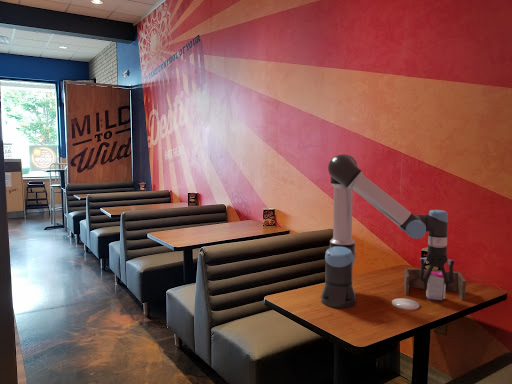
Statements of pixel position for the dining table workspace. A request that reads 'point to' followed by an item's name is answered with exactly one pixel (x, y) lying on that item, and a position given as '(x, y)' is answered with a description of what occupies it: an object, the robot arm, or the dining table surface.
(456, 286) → the cubby
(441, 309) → the dining table surface
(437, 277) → the supplement box
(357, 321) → the dining table surface
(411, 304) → the pebble
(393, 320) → the dining table surface
